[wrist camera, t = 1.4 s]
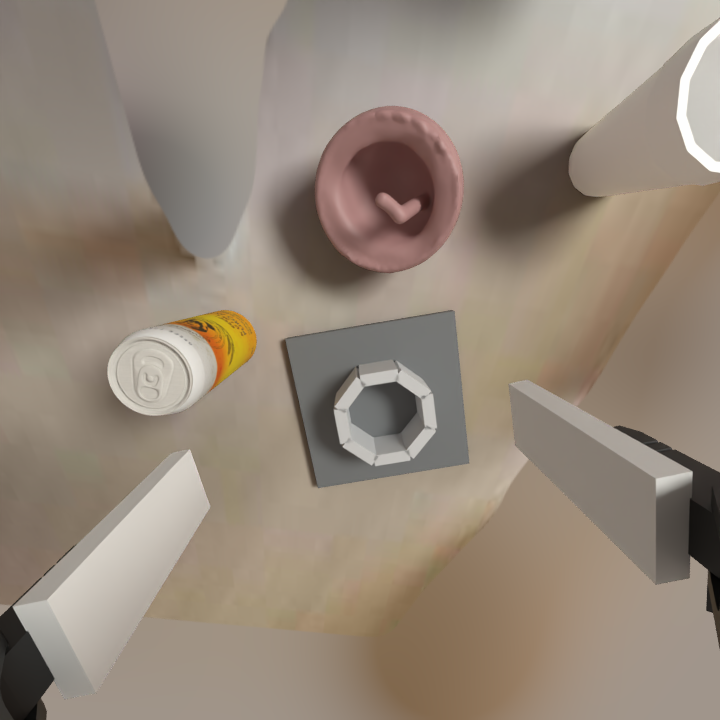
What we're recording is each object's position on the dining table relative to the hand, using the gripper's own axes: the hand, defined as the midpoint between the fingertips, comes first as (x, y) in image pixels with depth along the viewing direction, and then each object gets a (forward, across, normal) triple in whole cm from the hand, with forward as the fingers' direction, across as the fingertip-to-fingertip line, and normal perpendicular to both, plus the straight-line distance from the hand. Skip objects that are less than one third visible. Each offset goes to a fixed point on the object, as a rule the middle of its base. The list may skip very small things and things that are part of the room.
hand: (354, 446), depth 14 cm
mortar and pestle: (+24, +6, +12) cm, 28 cm away
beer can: (+24, -13, +3) cm, 27 cm away
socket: (+24, +2, -7) cm, 25 cm away
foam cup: (+24, +28, +13) cm, 39 cm away
